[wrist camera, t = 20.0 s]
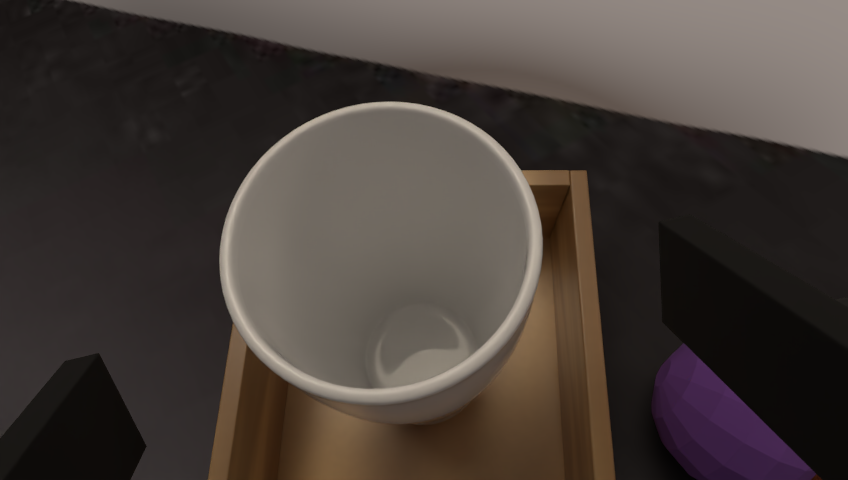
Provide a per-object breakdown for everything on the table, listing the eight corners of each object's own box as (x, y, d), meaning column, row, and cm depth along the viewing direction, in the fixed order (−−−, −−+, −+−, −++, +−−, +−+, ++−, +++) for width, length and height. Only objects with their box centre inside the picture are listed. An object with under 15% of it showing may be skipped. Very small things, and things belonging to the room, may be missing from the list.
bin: (260, 521, 24) (197, 537, 18) (296, 230, 29) (256, 171, 23) (582, 533, 23) (623, 554, 17) (561, 230, 28) (587, 169, 22)
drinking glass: (530, 389, 24) (621, 283, 11) (397, 476, 23) (303, 487, 10) (447, 265, 27) (433, 47, 13) (323, 340, 26) (162, 190, 12)
